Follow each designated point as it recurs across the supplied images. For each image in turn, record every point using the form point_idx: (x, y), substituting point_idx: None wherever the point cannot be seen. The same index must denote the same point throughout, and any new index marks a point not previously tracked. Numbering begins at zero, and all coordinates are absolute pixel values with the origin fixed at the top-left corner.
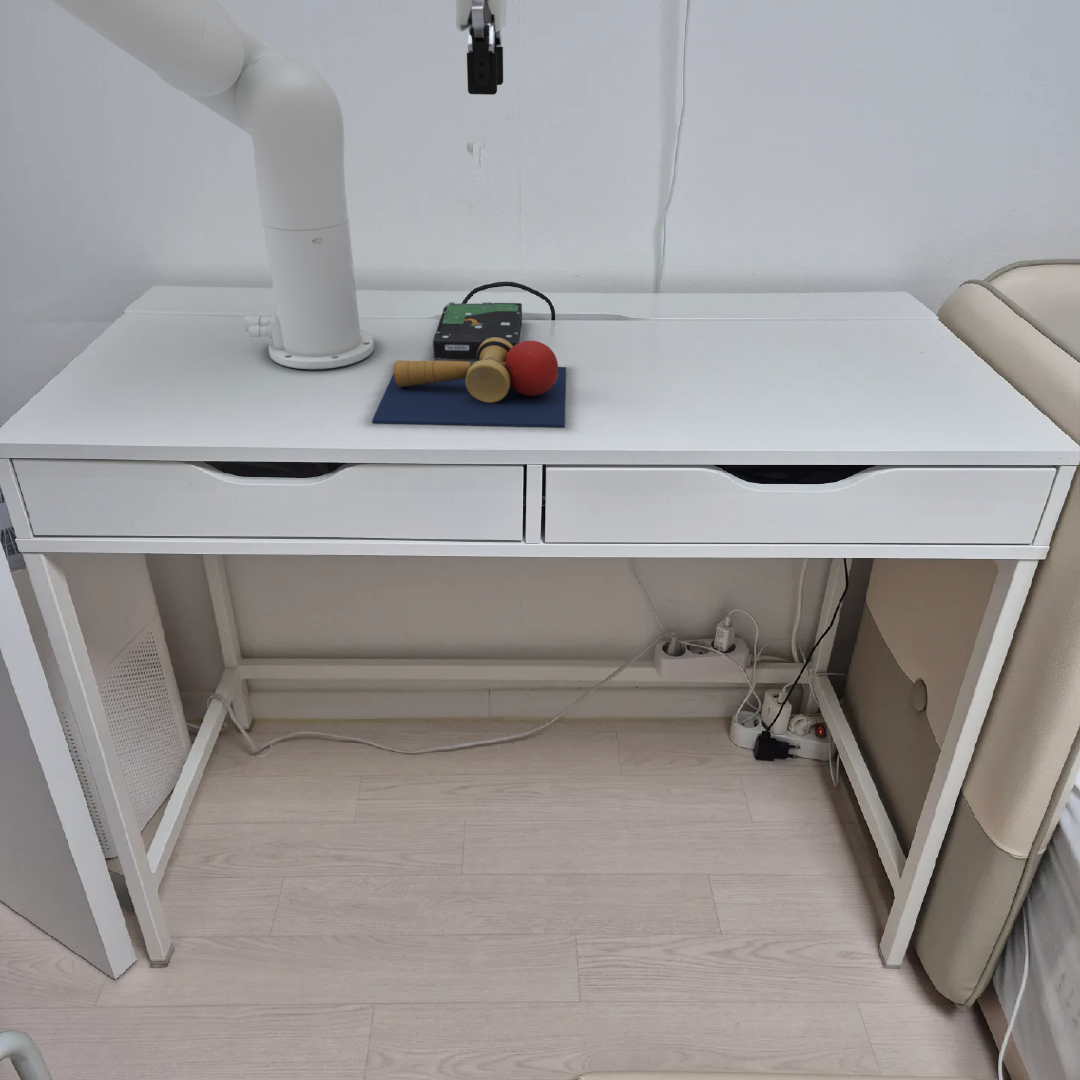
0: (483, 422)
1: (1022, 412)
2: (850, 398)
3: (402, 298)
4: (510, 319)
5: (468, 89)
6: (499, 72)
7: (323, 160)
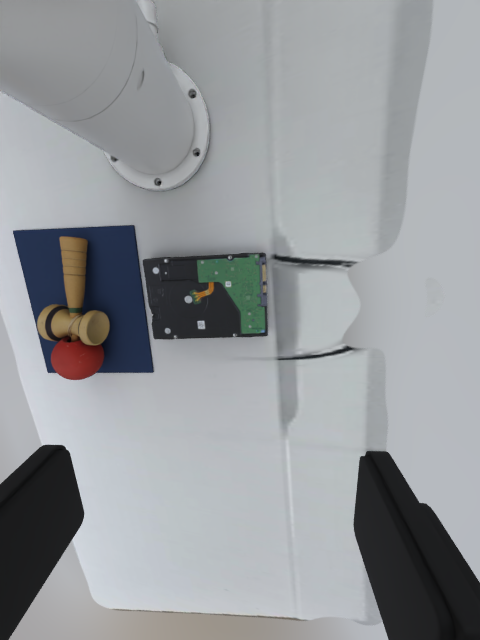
0: (35, 317)
1: (137, 602)
2: (139, 535)
3: (348, 181)
4: (214, 328)
5: (37, 452)
6: (369, 566)
7: None
